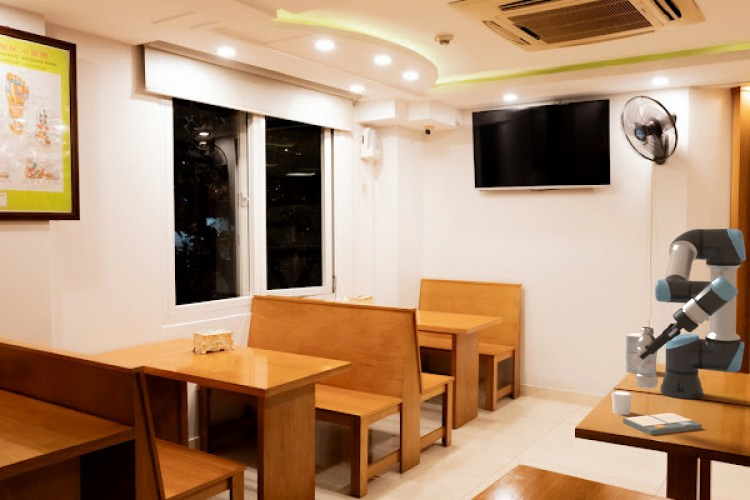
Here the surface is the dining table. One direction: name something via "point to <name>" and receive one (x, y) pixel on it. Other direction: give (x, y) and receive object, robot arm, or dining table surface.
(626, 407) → the white cup
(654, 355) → the plastic bottle
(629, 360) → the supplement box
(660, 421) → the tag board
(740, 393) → the dining table surface
